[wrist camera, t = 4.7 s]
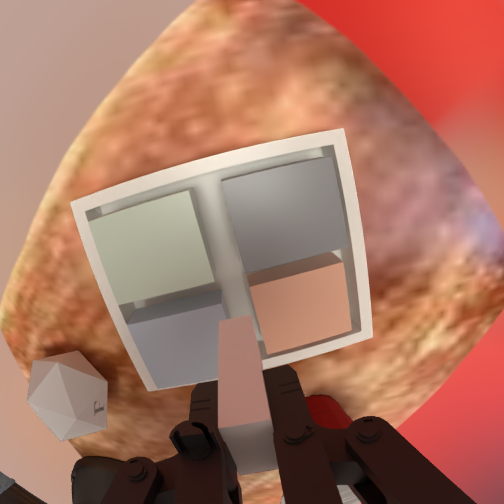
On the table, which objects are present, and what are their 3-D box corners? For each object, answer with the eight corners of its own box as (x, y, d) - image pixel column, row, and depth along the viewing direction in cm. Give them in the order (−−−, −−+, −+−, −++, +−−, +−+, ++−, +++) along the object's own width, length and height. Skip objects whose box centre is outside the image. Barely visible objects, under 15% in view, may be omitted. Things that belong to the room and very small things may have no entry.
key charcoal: (242, 261, 23) (245, 274, 20) (221, 179, 21) (220, 181, 18) (335, 237, 23) (348, 246, 20) (319, 156, 21) (331, 156, 19)
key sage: (128, 290, 23) (118, 305, 20) (102, 215, 21) (87, 222, 18) (215, 268, 23) (214, 281, 20) (192, 187, 21) (188, 190, 18)
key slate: (162, 369, 25) (157, 389, 22) (135, 309, 23) (126, 325, 21) (242, 353, 25) (244, 372, 22) (221, 288, 23) (221, 303, 21)
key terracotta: (263, 337, 26) (267, 354, 24) (246, 274, 25) (249, 286, 22) (341, 315, 26) (351, 330, 24) (332, 251, 25) (343, 261, 22)
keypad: (155, 365, 28) (148, 391, 25) (91, 195, 24) (70, 202, 20) (356, 316, 29) (372, 337, 25) (325, 132, 24) (343, 128, 20)
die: (98, 410, 31) (124, 455, 23) (27, 406, 25) (33, 455, 17) (100, 345, 32) (125, 376, 24) (25, 336, 26) (24, 369, 18)
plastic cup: (255, 441, 33) (267, 524, 21) (278, 374, 30) (303, 469, 18) (337, 441, 34) (365, 513, 23) (371, 379, 31) (417, 455, 20)
